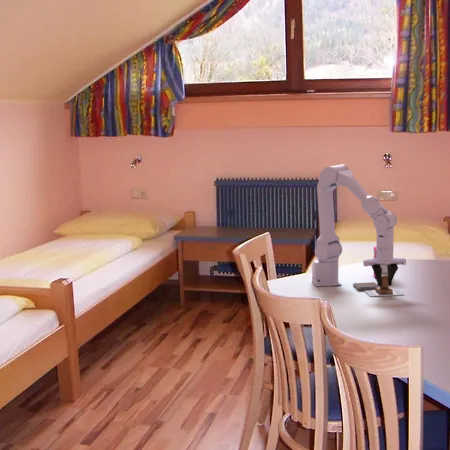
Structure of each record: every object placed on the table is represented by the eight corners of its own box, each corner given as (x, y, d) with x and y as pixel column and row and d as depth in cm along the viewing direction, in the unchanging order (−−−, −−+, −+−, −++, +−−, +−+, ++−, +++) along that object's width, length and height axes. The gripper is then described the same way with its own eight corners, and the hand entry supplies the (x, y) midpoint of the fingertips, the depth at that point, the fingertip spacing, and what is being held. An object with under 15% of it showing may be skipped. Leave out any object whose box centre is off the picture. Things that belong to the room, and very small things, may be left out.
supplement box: (388, 275, 266) (389, 246, 265) (390, 279, 261) (391, 249, 259) (373, 275, 267) (373, 246, 265) (374, 279, 261) (375, 249, 259)
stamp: (380, 294, 239) (380, 277, 238) (375, 291, 243) (375, 274, 242) (392, 293, 240) (393, 277, 238) (387, 290, 244) (388, 273, 243)
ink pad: (358, 291, 245) (358, 287, 245) (353, 286, 252) (353, 282, 252) (380, 290, 246) (380, 286, 246) (374, 285, 253) (374, 281, 252)
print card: (370, 296, 237) (370, 295, 237) (364, 291, 244) (364, 290, 244) (404, 295, 238) (404, 294, 238) (397, 290, 245) (397, 289, 245)
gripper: (367, 250, 234) (367, 289, 236) (409, 248, 235) (408, 287, 237) (361, 246, 241) (361, 284, 243) (402, 244, 242) (401, 282, 244)
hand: (384, 285), depth 241 cm, fingers closed on stamp, 3 cm apart
